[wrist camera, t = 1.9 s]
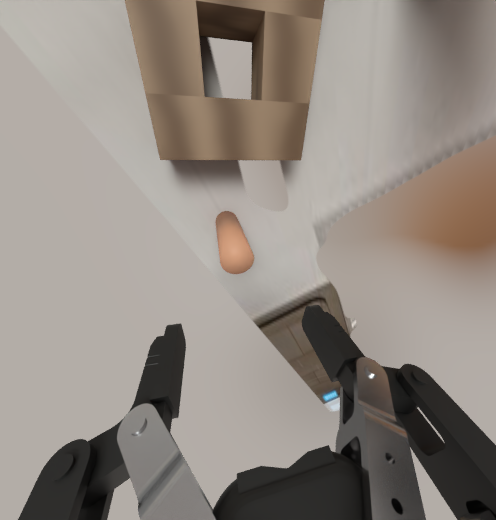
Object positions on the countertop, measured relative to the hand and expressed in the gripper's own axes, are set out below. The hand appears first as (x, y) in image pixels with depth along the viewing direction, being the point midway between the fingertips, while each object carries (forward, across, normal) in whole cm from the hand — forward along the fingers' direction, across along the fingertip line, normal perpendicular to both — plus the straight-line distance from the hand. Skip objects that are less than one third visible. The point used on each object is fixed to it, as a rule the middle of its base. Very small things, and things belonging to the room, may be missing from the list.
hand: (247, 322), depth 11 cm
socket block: (+20, -1, -17) cm, 26 cm away
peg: (+20, -1, 0) cm, 20 cm away
